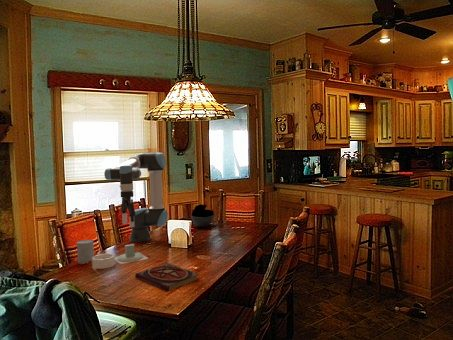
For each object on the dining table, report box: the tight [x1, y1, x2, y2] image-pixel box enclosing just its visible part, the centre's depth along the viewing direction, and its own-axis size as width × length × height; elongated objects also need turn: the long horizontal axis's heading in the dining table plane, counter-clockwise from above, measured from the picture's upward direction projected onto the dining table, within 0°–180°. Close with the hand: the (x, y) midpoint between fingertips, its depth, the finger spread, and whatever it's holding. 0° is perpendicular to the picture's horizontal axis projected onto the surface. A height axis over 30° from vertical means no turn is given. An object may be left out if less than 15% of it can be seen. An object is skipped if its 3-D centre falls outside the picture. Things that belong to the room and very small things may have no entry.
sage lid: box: [118, 243, 144, 263], centre depth 226 cm, size 15×15×8 cm
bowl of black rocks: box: [190, 204, 216, 228], centre depth 313 cm, size 20×20×19 cm
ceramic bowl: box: [91, 253, 116, 271], centre depth 214 cm, size 12×12×6 cm
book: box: [134, 262, 200, 292], centre depth 191 cm, size 28×21×5 cm
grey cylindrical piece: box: [76, 239, 95, 265], centre depth 226 cm, size 10×10×12 cm
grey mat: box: [115, 251, 149, 265], centre depth 227 cm, size 17×17×1 cm
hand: (128, 225), depth 225 cm, fingers open, 13 cm apart
